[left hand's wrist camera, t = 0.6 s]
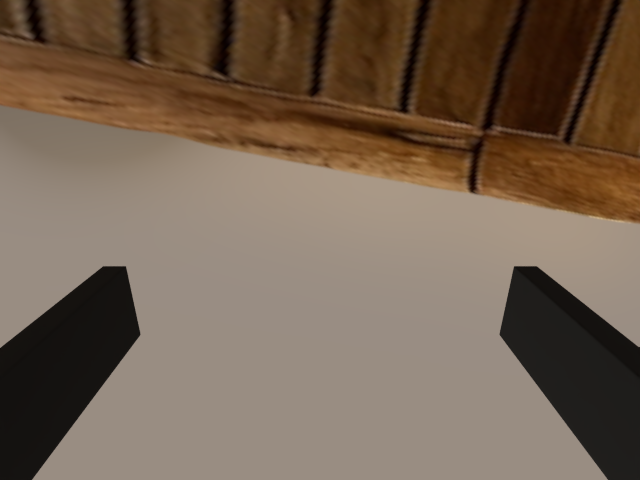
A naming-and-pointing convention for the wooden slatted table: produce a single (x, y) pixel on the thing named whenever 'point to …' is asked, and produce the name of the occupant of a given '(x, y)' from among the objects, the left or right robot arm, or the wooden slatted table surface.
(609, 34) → the wooden slatted table surface
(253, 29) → the wooden slatted table surface
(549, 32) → the wooden slatted table surface
